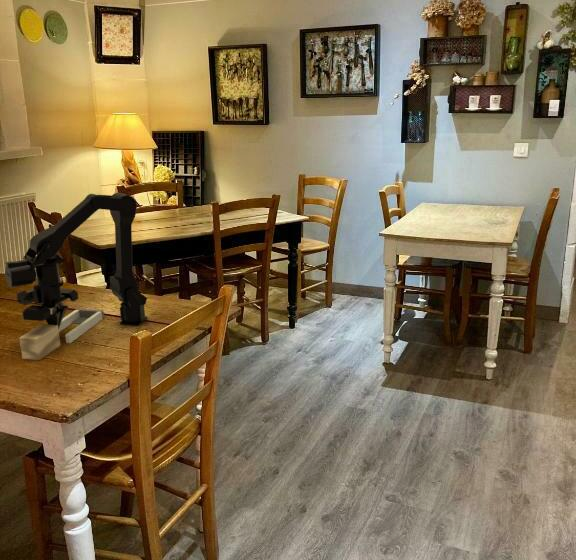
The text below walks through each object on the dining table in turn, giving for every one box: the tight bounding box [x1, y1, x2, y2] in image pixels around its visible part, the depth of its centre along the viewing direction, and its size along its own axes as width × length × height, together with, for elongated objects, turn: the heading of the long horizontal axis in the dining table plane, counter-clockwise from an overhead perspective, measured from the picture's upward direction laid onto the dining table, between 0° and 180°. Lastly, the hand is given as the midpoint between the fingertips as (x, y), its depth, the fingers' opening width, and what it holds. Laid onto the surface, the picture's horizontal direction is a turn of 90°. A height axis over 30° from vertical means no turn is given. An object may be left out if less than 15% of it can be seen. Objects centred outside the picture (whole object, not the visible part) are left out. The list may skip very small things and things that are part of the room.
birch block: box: [19, 323, 61, 361], centre depth 159 cm, size 5×10×6 cm, turn 169°
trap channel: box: [59, 308, 105, 344], centre depth 176 cm, size 9×20×2 cm, turn 170°
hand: (55, 332), depth 166 cm, fingers closed
